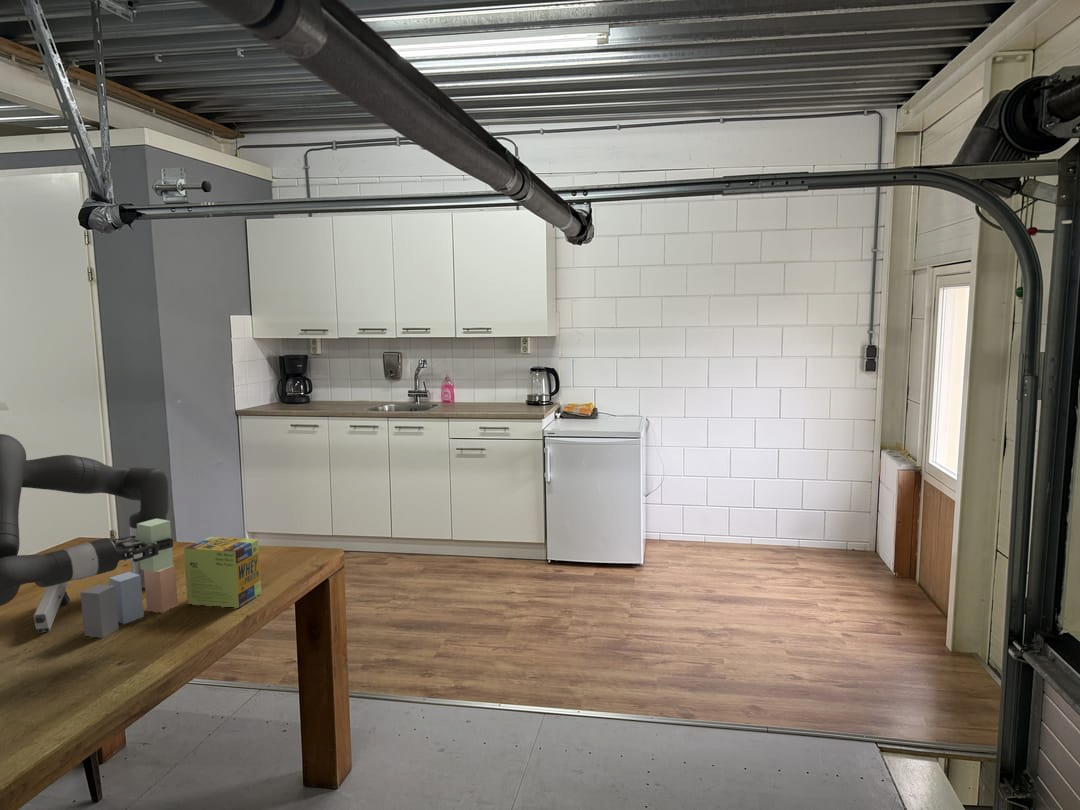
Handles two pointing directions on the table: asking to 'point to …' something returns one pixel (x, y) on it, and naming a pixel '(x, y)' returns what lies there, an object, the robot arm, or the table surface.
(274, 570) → the table surface
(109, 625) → the grey tall block
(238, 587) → the protein box
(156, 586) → the terracotta block
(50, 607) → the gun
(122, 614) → the slate block
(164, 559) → the sage block
